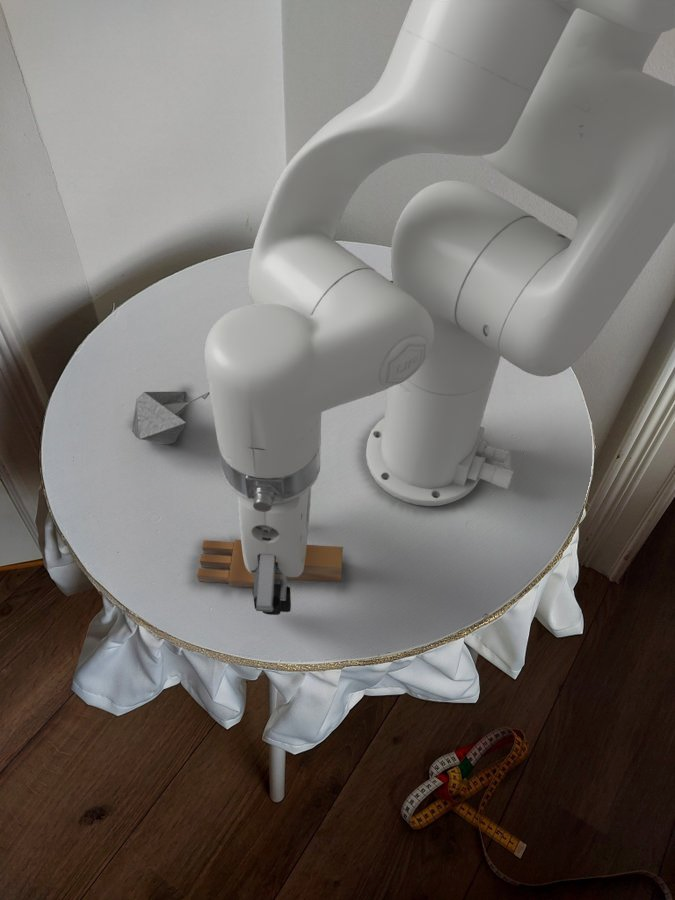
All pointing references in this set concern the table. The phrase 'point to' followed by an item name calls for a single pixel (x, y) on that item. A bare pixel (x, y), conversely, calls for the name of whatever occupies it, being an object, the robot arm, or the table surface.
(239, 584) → the fork
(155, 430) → the grey angular piece
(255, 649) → the table surface
